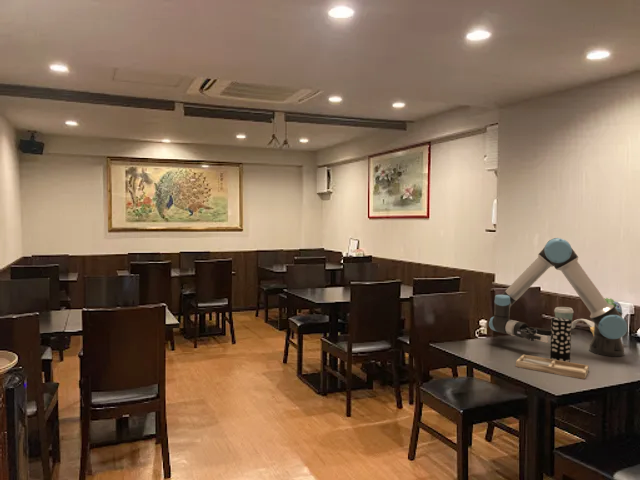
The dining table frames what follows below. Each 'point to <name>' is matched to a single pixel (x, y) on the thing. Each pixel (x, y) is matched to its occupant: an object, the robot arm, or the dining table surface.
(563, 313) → the disposable coffee cup
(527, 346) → the dining table surface
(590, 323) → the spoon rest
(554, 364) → the tray
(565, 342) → the spotted tube
